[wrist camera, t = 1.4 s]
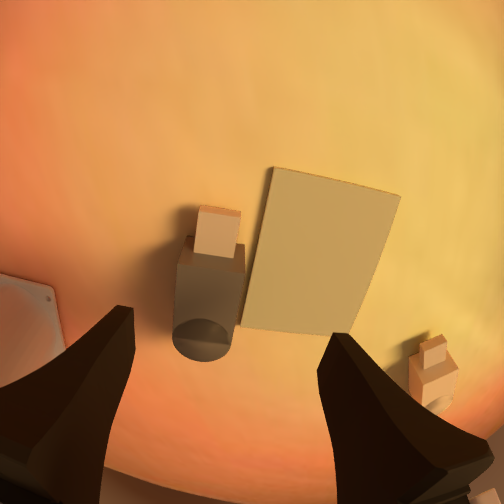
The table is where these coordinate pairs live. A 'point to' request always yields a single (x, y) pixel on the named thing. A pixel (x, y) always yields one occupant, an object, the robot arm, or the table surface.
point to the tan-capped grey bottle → (209, 286)
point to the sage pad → (315, 253)
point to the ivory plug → (433, 375)
